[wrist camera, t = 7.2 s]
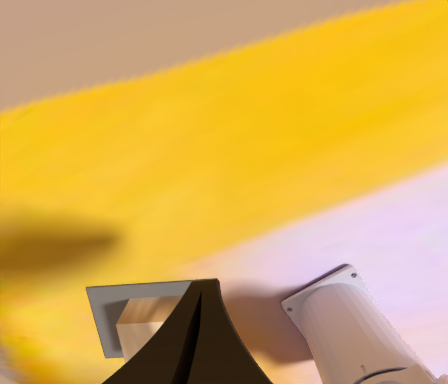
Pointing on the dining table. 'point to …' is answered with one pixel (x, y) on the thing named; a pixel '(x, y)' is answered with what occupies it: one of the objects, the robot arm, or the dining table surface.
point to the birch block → (143, 321)
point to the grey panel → (116, 302)
